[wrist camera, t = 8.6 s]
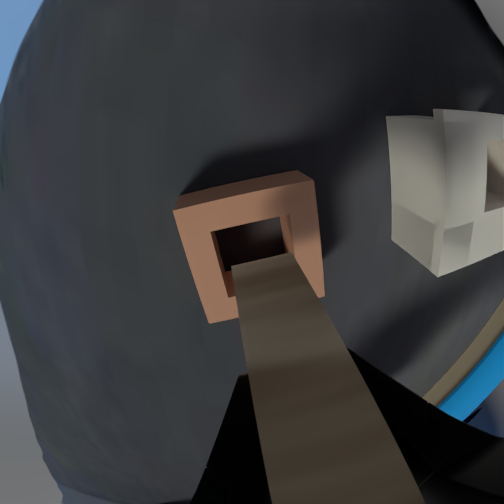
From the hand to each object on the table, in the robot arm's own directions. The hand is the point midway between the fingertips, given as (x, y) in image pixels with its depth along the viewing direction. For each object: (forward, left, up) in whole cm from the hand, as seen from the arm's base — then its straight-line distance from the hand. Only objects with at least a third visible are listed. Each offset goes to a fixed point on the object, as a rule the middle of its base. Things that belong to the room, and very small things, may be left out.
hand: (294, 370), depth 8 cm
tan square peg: (0, 0, -5) cm, 5 cm away
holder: (0, 0, -11) cm, 11 cm away
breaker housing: (+3, -16, -11) cm, 19 cm away
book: (-29, -29, -11) cm, 43 cm away
